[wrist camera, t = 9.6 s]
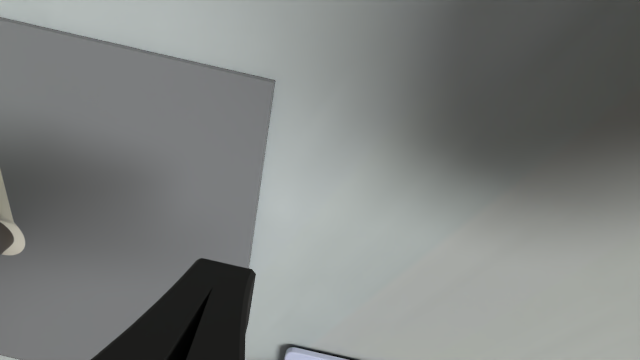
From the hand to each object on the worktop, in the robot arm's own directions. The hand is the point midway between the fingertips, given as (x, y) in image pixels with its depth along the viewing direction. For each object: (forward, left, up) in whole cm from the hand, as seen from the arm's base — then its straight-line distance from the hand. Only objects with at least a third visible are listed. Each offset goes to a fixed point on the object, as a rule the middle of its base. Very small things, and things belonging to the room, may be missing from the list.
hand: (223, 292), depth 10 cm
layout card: (-10, +15, -9) cm, 20 cm away
